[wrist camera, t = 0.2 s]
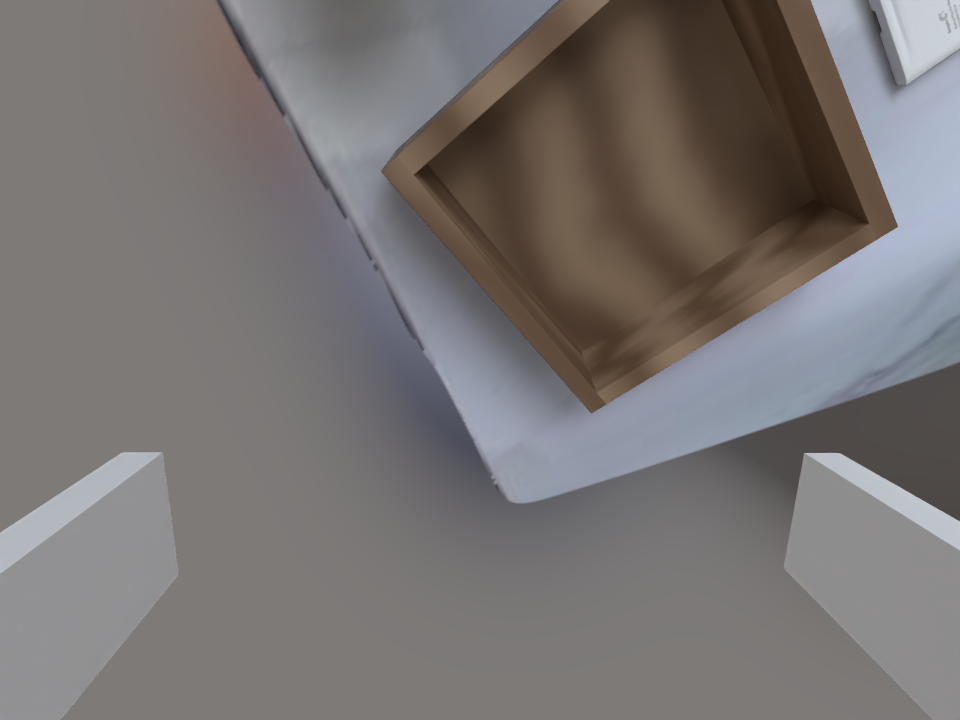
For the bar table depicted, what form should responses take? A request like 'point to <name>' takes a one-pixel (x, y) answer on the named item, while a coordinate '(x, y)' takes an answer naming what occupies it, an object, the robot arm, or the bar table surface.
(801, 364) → the bar table surface
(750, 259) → the walnut box
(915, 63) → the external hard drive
